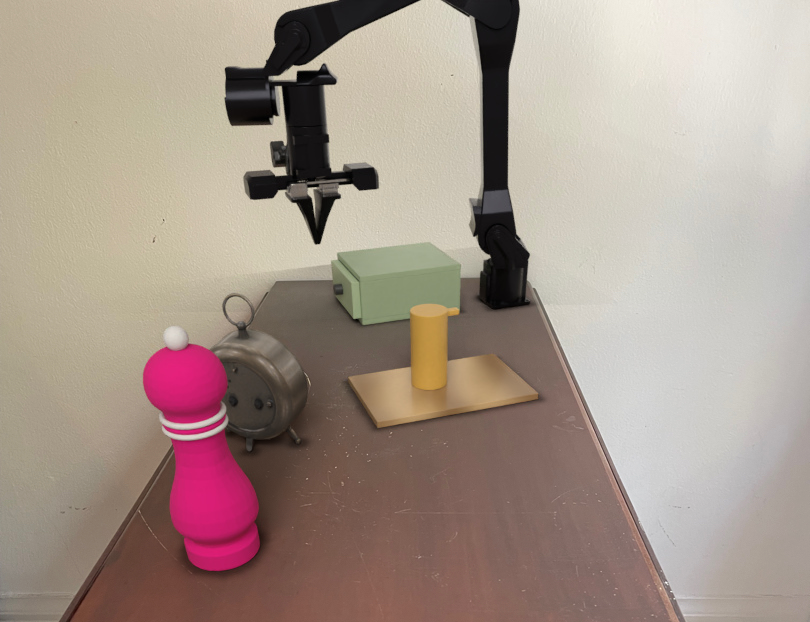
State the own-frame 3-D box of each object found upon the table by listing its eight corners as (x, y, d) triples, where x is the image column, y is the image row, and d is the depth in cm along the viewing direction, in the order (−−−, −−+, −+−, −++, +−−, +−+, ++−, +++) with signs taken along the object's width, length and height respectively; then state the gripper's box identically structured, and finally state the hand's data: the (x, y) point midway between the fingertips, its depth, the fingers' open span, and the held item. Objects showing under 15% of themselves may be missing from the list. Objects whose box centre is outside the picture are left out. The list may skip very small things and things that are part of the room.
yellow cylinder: (449, 371, 88) (451, 300, 83) (463, 385, 85) (465, 311, 79) (406, 378, 87) (404, 306, 81) (418, 392, 83) (417, 318, 78)
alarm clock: (315, 438, 77) (298, 289, 67) (294, 462, 73) (272, 307, 63) (229, 424, 80) (200, 280, 70) (203, 447, 76) (169, 297, 66)
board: (493, 358, 93) (493, 353, 92) (538, 399, 83) (538, 393, 83) (348, 382, 88) (347, 376, 88) (377, 428, 78) (377, 421, 78)
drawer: (345, 320, 103) (343, 283, 100) (326, 295, 113) (323, 261, 110) (444, 306, 107) (445, 271, 104) (418, 283, 117) (417, 250, 113)
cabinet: (362, 325, 104) (359, 276, 100) (340, 297, 114) (336, 252, 110) (459, 311, 108) (461, 264, 104) (429, 285, 118) (429, 241, 114)
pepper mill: (247, 580, 58) (198, 348, 46) (167, 570, 59) (99, 342, 47) (277, 529, 63) (240, 311, 51) (203, 521, 65) (150, 306, 53)
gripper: (356, 114, 104) (362, 225, 114) (230, 121, 100) (247, 237, 109) (377, 122, 96) (382, 242, 105) (241, 131, 91) (258, 255, 101)
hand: (317, 243), depth 105 cm, fingers closed
